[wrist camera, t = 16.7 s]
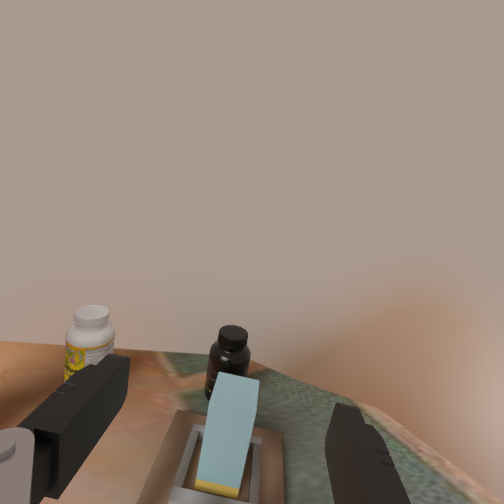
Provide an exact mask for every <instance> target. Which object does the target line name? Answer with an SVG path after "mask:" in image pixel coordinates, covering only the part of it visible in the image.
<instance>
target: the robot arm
mask: <svg viewBox="0 0 504 504" xmlns="http://www.w3.org/2000/svg"><path fill="white" fill-rule="evenodd" d="M129 367H130V358H129V357H125V356H121V355H116V354H111V353H109V354H107V355H106V356H105V357H104V358H103V359H102V360H101V361H100V362H99V363H98V364H97V365H93V364H89V365H87V366H85V367H84V368H82V369H80V370H78V371H76V372H75V373H74V374H73V375H71V376H70V377H69V378H68V379H67V380H66V381H65V383H64V384H62V385H61V386H60V387H59V388H58V389H56V391H55V393H52V394H51V395H50V396H49V397H48V398H47V399H46V400H45V401H44V402H43V403H41V404H40V405H39V406H38V407H37V408H36V409H35V410H34V411H33V412H32V413H31V414H30V415H29V416H28V417H26V418H25V419H24V420H23V421H22V422H21V423H20V424H19V425H18V426H17V427H14V428H7V429H3V430H0V504H39V503H40V502H41V501H42V499H43V498H44V497H49V498H53V499H57V500H58V499H59V497H60V496H61V494H62V493H63V491H64V490H65V489H66V487H67V486H68V484H69V483H70V481H71V480H72V478H73V477H74V476H75V474H76V473H77V471H78V470H79V468H80V467H81V465H82V464H83V462H84V461H85V460H86V458H87V457H88V455H89V454H90V452H91V451H92V449H93V448H94V447H95V445H96V444H97V442H98V441H99V439H100V438H101V436H102V435H103V434H104V432H105V431H106V429H107V428H108V426H109V425H110V423H111V422H112V421H113V419H114V418H115V416H116V415H117V413H118V412H119V410H120V409H121V407H122V405H123V403H124V401H125V398H126V395H127V388H128V378H129ZM325 455H326V460H327V466H328V471H329V477H330V482H331V487H332V493H333V498H334V503H335V504H411V503H410V501H409V498H408V496H407V494H406V491H405V489H404V487H403V484H402V482H401V479H400V477H399V475H398V472H397V470H396V469H395V468H394V466H395V465H394V463H393V461H392V458H391V456H389V451H388V449H387V447H386V444H385V442H384V440H383V438H382V437H381V436H380V434H379V433H378V432H377V431H376V429H375V428H374V427H373V426H372V425H368V424H365V422H364V419H363V417H362V414H361V411H360V409H359V408H358V407H357V406H352V405H347V404H343V403H336V405H335V408H334V411H333V414H332V418H331V421H330V424H329V428H328V431H327V434H326V440H325Z"/></svg>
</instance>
